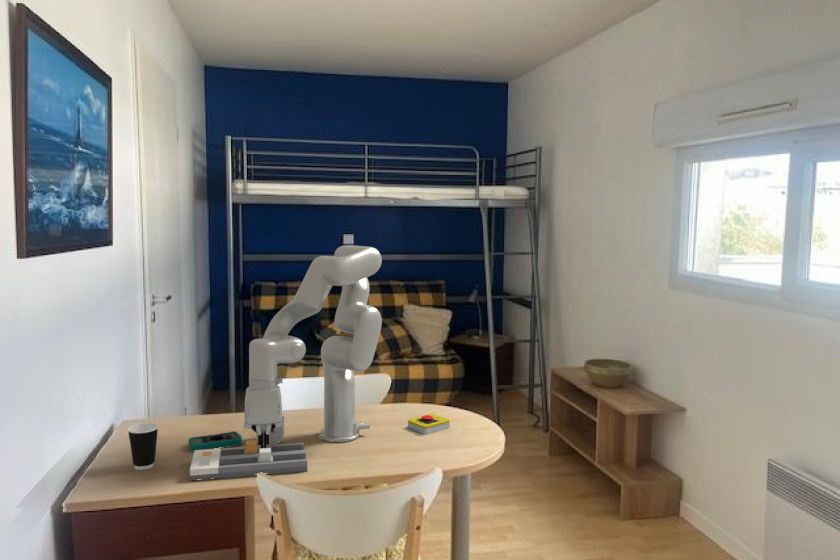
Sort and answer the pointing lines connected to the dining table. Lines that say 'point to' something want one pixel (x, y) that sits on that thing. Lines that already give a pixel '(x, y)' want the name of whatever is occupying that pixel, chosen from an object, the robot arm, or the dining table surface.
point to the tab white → (265, 455)
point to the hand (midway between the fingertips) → (263, 447)
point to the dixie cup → (143, 444)
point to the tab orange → (251, 447)
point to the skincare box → (274, 433)
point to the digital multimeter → (215, 441)
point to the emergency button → (427, 424)
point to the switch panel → (247, 462)
